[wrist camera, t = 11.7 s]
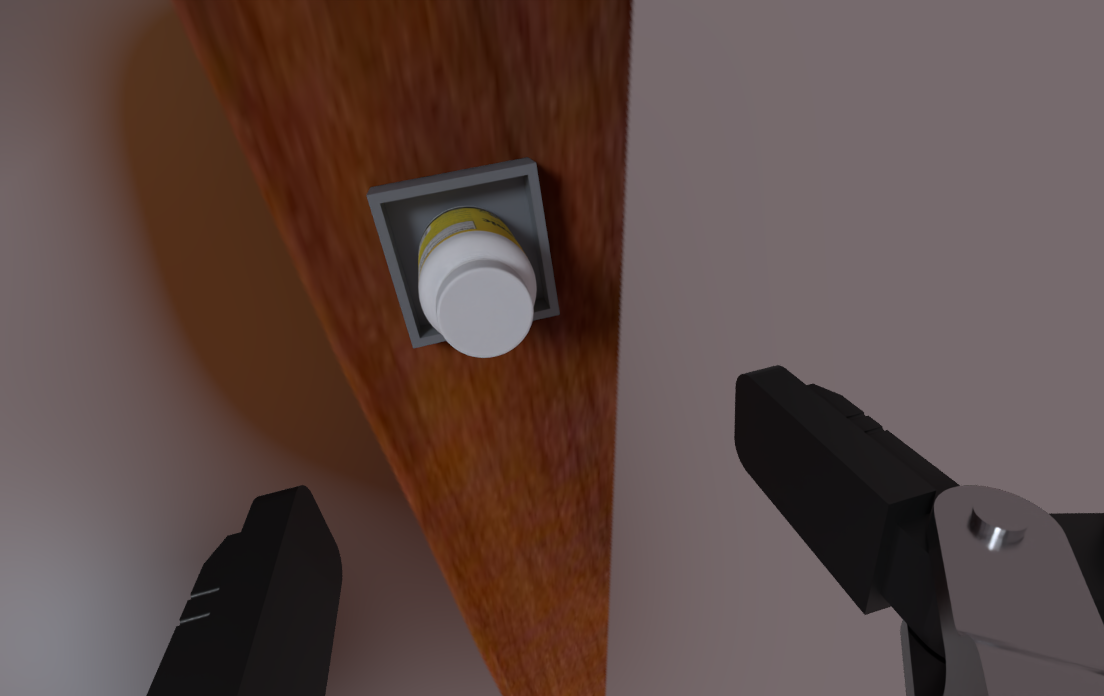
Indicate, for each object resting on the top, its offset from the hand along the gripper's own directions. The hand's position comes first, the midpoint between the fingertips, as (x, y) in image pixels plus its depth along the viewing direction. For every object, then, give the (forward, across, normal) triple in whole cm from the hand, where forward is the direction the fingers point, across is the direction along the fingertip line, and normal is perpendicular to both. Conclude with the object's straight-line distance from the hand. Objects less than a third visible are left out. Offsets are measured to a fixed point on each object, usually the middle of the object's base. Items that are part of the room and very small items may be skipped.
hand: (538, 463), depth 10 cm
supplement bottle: (+22, 0, +3) cm, 23 cm away
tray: (+23, 0, +3) cm, 23 cm away
